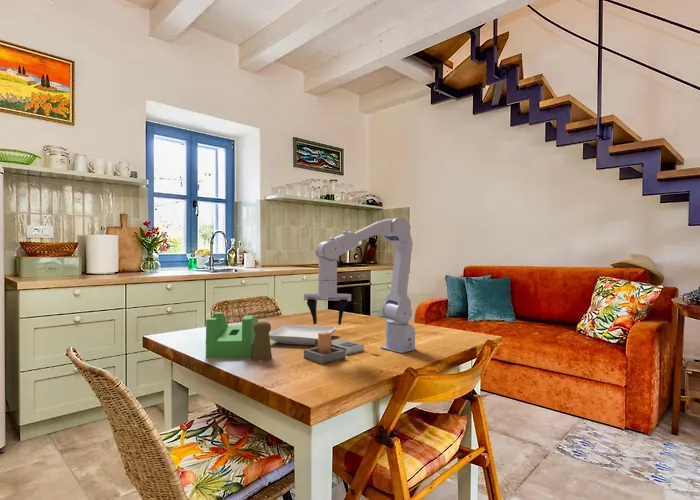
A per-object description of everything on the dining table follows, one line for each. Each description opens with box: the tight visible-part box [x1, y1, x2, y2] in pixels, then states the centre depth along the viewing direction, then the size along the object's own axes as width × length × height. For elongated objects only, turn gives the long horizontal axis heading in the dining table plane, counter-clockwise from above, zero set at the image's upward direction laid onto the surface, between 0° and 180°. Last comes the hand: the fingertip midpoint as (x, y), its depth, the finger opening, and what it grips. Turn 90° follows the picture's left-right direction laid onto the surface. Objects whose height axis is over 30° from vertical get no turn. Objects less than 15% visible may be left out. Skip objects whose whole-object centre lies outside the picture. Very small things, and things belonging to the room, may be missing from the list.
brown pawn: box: [251, 321, 273, 362], centre depth 122 cm, size 6×6×11 cm
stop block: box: [314, 339, 333, 348], centre depth 132 cm, size 5×3×4 cm, turn 44°
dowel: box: [318, 332, 332, 355], centre depth 123 cm, size 4×4×7 cm
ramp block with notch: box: [205, 311, 259, 359], centre depth 135 cm, size 24×13×12 cm, turn 8°
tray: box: [303, 346, 346, 365], centre depth 123 cm, size 9×9×2 cm
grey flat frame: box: [331, 338, 365, 356], centre depth 134 cm, size 12×8×2 cm
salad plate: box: [269, 324, 337, 346], centre depth 147 cm, size 21×21×3 cm
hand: (327, 323), depth 124 cm, fingers open, 7 cm apart
